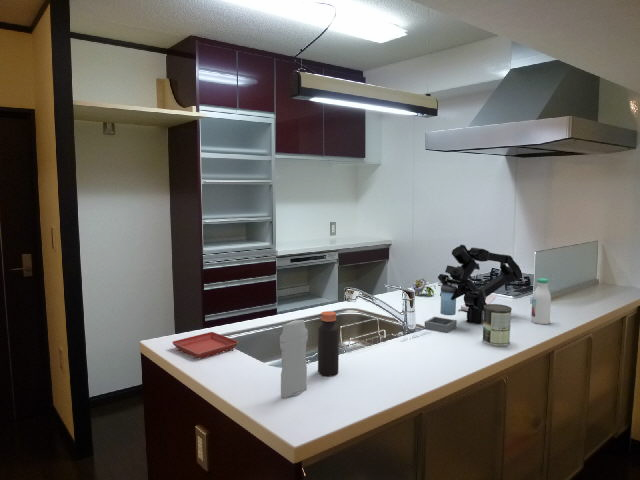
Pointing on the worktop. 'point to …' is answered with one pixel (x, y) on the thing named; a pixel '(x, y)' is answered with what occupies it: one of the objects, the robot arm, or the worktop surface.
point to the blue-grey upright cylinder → (448, 300)
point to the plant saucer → (205, 344)
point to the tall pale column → (293, 358)
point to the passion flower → (422, 287)
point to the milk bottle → (541, 303)
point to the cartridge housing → (440, 324)
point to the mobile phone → (488, 301)
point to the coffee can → (496, 324)
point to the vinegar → (328, 345)
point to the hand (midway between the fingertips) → (446, 297)
